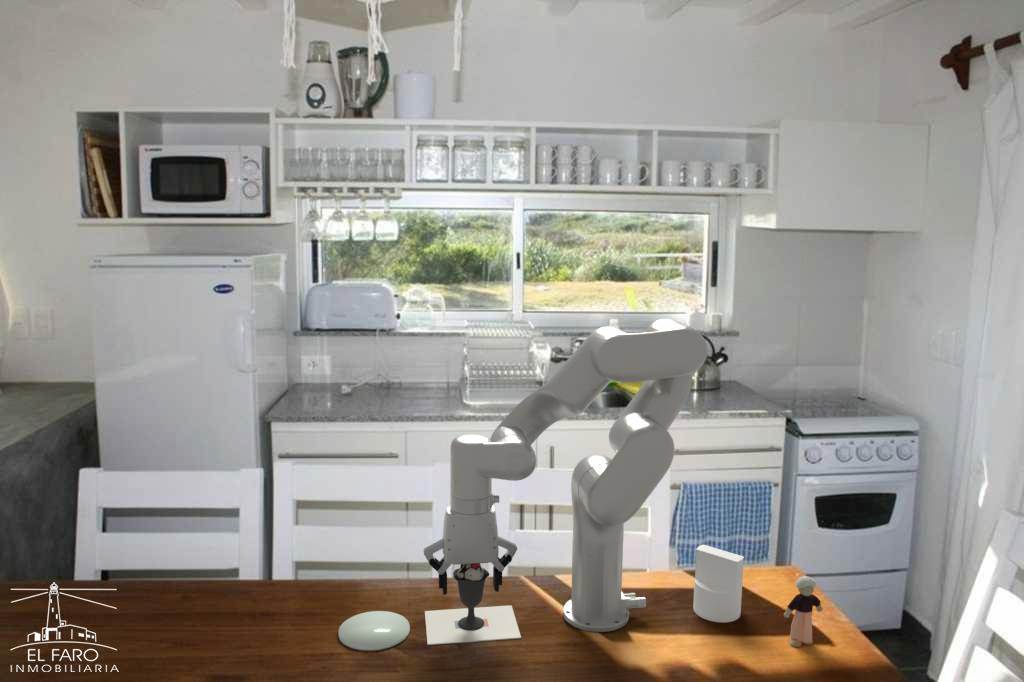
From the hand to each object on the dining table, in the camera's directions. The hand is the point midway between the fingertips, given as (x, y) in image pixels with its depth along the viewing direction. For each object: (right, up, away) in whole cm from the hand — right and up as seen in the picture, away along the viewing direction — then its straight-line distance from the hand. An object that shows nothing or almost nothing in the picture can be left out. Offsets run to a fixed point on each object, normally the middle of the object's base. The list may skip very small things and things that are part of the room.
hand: (470, 589), depth 152 cm
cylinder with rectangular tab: (+48, -6, +7) cm, 49 cm away
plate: (-18, -7, -1) cm, 19 cm away
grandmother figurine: (+61, -8, -4) cm, 61 cm away
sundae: (0, -7, +1) cm, 7 cm away
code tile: (0, -7, +1) cm, 7 cm away
